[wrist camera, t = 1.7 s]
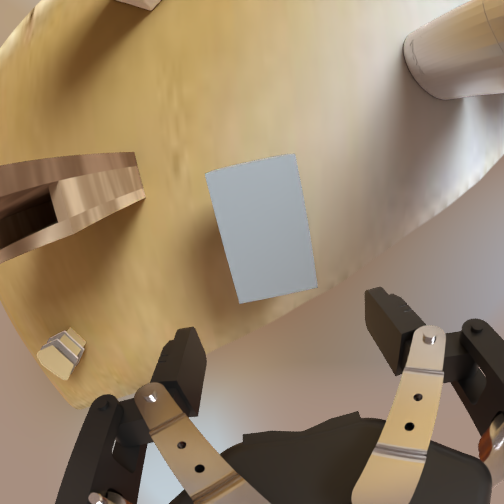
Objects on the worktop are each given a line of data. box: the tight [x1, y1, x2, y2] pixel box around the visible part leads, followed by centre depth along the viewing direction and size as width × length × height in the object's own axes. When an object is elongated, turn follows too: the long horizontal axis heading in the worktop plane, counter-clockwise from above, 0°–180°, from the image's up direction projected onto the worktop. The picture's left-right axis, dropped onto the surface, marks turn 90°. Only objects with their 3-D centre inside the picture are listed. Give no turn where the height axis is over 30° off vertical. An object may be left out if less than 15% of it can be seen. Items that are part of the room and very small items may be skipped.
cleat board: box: [0, 152, 146, 263], centre depth 16 cm, size 12×5×20 cm, turn 103°
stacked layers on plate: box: [37, 327, 86, 380], centre depth 31 cm, size 10×9×6 cm
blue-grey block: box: [205, 154, 318, 304], centre depth 22 cm, size 6×10×10 cm, turn 13°
